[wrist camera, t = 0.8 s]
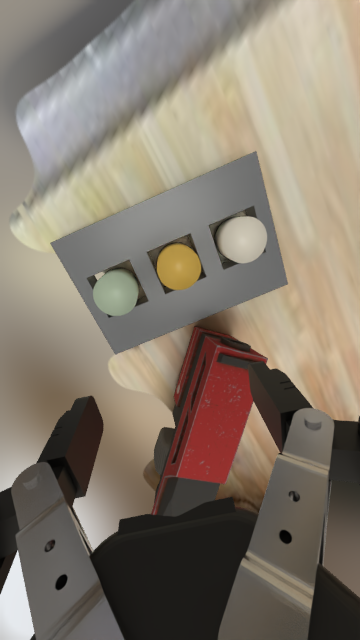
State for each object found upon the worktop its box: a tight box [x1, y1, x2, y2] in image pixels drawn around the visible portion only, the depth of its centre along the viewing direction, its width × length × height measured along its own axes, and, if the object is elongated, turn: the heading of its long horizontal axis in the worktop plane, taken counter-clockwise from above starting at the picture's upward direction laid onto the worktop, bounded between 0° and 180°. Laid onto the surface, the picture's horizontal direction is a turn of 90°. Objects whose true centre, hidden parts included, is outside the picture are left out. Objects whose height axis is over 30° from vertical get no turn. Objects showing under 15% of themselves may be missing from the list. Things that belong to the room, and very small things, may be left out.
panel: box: [50, 151, 288, 354], centre depth 29 cm, size 22×14×3 cm, turn 112°
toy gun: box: [151, 327, 268, 517], centre depth 32 cm, size 5×24×15 cm, turn 162°
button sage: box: [93, 268, 139, 316], centre depth 27 cm, size 4×4×4 cm
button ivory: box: [215, 216, 267, 263], centre depth 26 cm, size 4×4×4 cm
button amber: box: [157, 243, 201, 290], centre depth 27 cm, size 4×4×4 cm
